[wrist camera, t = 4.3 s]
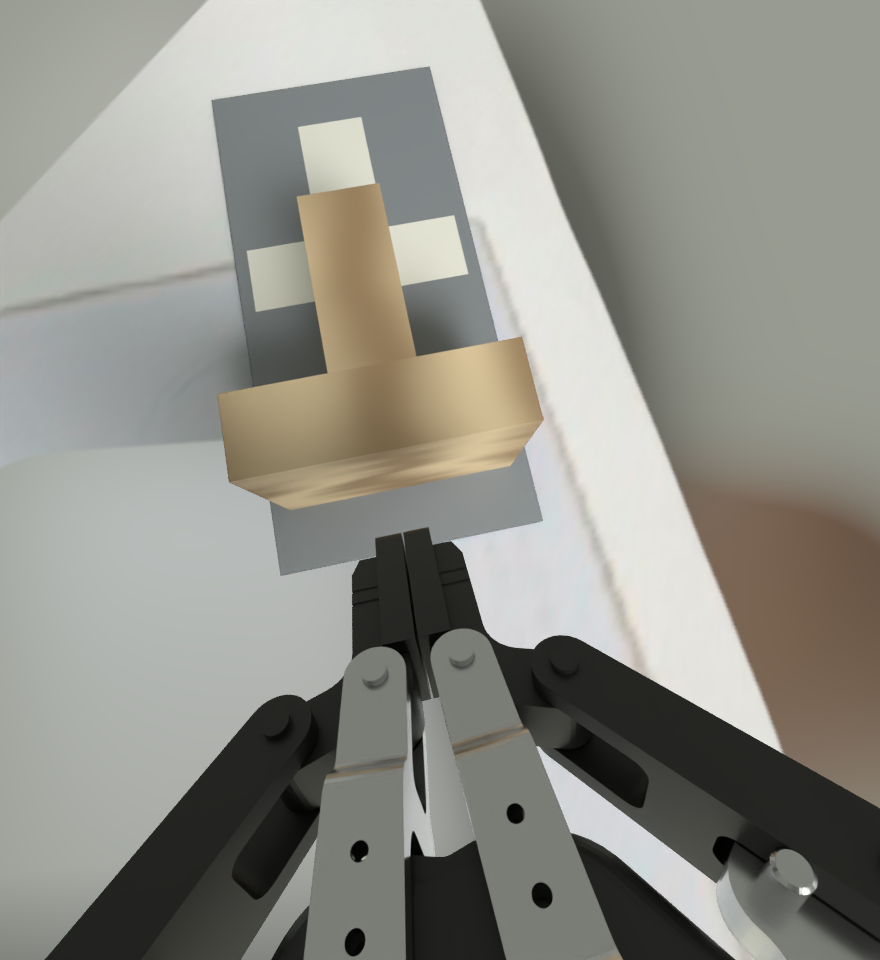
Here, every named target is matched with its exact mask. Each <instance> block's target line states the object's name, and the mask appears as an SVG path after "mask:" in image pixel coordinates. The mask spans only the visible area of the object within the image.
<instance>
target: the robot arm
mask: <svg viewBox="0 0 880 960" xmlns="http://www.w3.org/2000/svg"><path fill="white" fill-rule="evenodd" d="M403 535H404V541H403V537H402V534H401V533H397V534H392V535H388V536H383V537H378V538H375V547H376V557H375V558H370V559H365V560H360V561H359V563H358V565H357V567H356V569H355V571H354V573H353V575H352V592H353V594H352V605H353V607H352V630H353V631H352V640H353V642H352V644H353V646H352V648H353V654H352V661H351V662H350V663H349V665H348V666H347V668H346V671H345V674H344V676H343V678H342V679H341V680H340V681H339V682H338V683H337V684H335V685H334V686H333V687H332V688H330V689H328V690H327V691H325V692H323V693H322V694H320V695H318V696H316V697H314V698H312V699H310V700H309V701H307V702H306V701H305V700H303V699H302V698H301V697H298V696H295V695H283V696H279V697H276V698H274V699H271V700H269V701H268V702H266V703H265V704H263V705H262V706H261V707H260V708H258V709H257V711H256V712H255V713H254V714H253V715H252V716H251V717H250V718H249V720H248V721H247V722H246V723H245V724H244V726H243V727H242V728H241V729H240V730H239V731H238V733H237V734H236V735H235V736H234V737H233V739H232V740H231V741H230V742H229V743H228V744H227V746H226V747H225V748H224V749H223V750H222V752H221V753H220V754H219V755H218V756H217V758H216V759H215V760H214V761H213V762H212V763H211V764H210V766H209V767H208V768H207V769H206V771H205V772H204V773H203V774H202V775H201V776H200V777H199V779H198V780H197V781H196V782H195V783H194V785H193V786H192V787H191V788H190V789H189V790H188V792H187V793H186V794H185V795H184V796H183V798H182V799H181V800H180V801H179V802H178V803H177V805H176V806H175V807H174V808H173V809H172V811H171V812H170V813H169V814H168V815H167V816H166V818H165V819H164V820H163V821H162V822H161V823H160V825H159V826H158V827H157V828H156V829H155V831H154V832H153V833H152V834H151V835H150V836H149V838H148V839H147V840H146V841H145V842H144V843H143V845H142V846H141V847H140V848H139V849H138V850H137V852H136V853H135V854H134V855H133V856H132V858H131V859H130V860H129V861H128V862H127V863H126V865H125V866H124V867H123V868H122V869H121V871H120V872H119V873H118V874H117V875H116V876H115V878H114V879H113V880H112V881H111V882H110V883H109V885H108V886H107V887H106V888H105V889H104V891H103V892H102V893H101V894H100V895H99V897H98V898H97V899H96V900H95V901H94V902H93V904H92V905H91V906H90V907H89V908H88V909H87V911H86V912H85V913H84V914H83V915H82V917H81V918H80V919H79V920H78V921H77V922H76V924H75V925H74V926H73V927H72V928H71V929H70V931H69V932H68V933H67V934H66V935H65V937H64V938H63V939H62V940H61V941H60V943H59V944H58V945H57V946H56V947H55V948H54V950H53V951H52V952H51V953H50V954H49V956H48V957H47V958H46V959H45V960H241V958H242V957H243V955H244V953H245V952H246V950H247V949H248V947H249V945H250V944H251V942H252V941H253V939H254V937H255V936H256V934H257V933H258V931H259V929H260V928H261V926H262V924H263V923H264V921H265V920H266V918H267V917H268V915H269V913H270V912H271V910H272V909H273V907H274V905H275V904H276V902H277V901H278V899H279V897H280V896H281V894H282V892H283V891H284V889H285V888H286V886H287V885H288V883H289V881H290V880H291V878H292V876H293V875H294V873H295V872H296V870H297V869H298V867H299V865H300V864H301V862H302V860H303V859H304V857H305V856H306V854H307V853H308V851H309V849H310V848H311V846H312V845H313V843H314V841H315V840H316V838H317V845H316V853H315V861H314V870H313V879H312V888H311V897H310V905H309V906H308V907H307V908H306V909H305V910H304V912H303V913H302V914H301V915H300V916H299V918H298V919H297V920H296V921H295V922H294V924H293V925H292V927H291V928H290V929H289V931H288V932H287V934H286V935H285V937H284V938H283V940H282V942H281V943H280V945H279V947H278V949H277V950H276V952H275V954H274V956H273V958H272V959H271V960H735V959H734V958H733V957H732V956H730V955H729V954H728V953H727V952H726V951H725V950H724V949H722V948H721V947H720V946H719V945H718V944H717V943H716V942H714V941H713V940H712V939H711V938H710V937H709V936H708V935H706V934H705V933H704V932H703V931H702V930H701V929H700V928H698V927H697V926H696V925H695V924H694V923H693V922H692V921H690V920H689V919H688V918H687V917H686V916H685V915H684V914H682V913H681V912H680V911H679V910H678V909H677V908H676V907H674V906H673V905H672V904H671V903H670V902H669V901H668V900H666V899H665V898H664V897H663V896H662V895H661V894H660V893H658V892H657V891H656V890H655V889H654V888H653V887H652V886H651V885H649V884H648V883H647V882H646V881H645V880H644V879H643V878H641V877H640V876H639V875H638V874H637V873H636V872H635V871H633V870H632V869H631V868H630V867H629V866H628V865H627V864H625V863H624V862H623V861H622V860H621V859H619V858H618V857H617V856H616V855H614V854H613V853H611V852H610V851H609V850H607V849H606V848H604V847H603V846H601V845H599V844H597V843H595V842H593V841H591V840H589V839H587V838H584V837H582V836H579V835H576V834H572V833H570V830H569V828H568V825H567V823H566V820H565V818H564V815H563V813H562V810H561V808H560V805H559V803H558V800H557V798H556V795H555V793H554V790H553V788H552V785H551V783H550V780H549V778H548V775H547V773H546V770H545V768H544V765H543V763H542V760H541V758H540V755H539V753H538V750H537V747H536V746H540V748H541V749H542V750H543V751H544V752H545V753H546V754H547V755H548V756H549V757H551V758H552V759H553V760H555V761H556V762H557V763H559V764H560V765H561V766H563V767H564V768H565V769H567V770H568V771H569V772H571V773H572V774H573V775H574V776H576V777H577V778H578V779H580V780H581V781H582V782H584V783H585V784H586V785H588V786H589V787H590V788H592V789H593V790H594V791H596V792H597V793H598V794H599V795H601V796H602V797H603V798H605V799H606V800H607V801H609V802H610V803H611V804H613V805H614V806H615V807H617V808H618V809H619V810H621V811H622V812H623V813H625V814H626V815H627V816H628V817H630V818H631V819H632V820H634V821H635V822H636V823H638V824H639V825H640V826H642V827H643V828H644V829H646V830H647V831H648V832H650V833H651V834H652V835H653V836H655V837H656V838H657V839H659V840H660V841H661V842H663V843H664V844H665V845H667V846H668V847H669V848H671V849H672V850H673V851H675V852H676V853H677V854H679V855H680V856H681V857H682V858H684V859H685V860H686V861H688V862H689V863H690V864H692V865H693V866H694V867H696V868H697V869H698V870H700V871H701V872H702V873H704V874H705V875H706V876H708V877H709V878H710V879H711V880H713V881H714V882H715V883H717V889H716V893H717V901H718V906H719V909H720V912H721V915H722V917H723V919H724V921H725V923H726V925H727V927H728V929H729V930H730V932H731V933H732V935H733V936H734V937H735V938H736V940H737V941H738V942H739V943H740V944H741V945H742V946H743V947H744V948H745V949H746V950H747V951H748V952H749V953H750V954H751V955H752V956H753V957H754V958H755V959H756V960H880V808H878V807H876V806H875V805H873V804H871V803H869V802H868V801H866V800H864V799H862V798H860V797H858V796H856V795H855V794H853V793H851V792H850V791H848V790H846V789H844V788H843V787H841V786H839V785H837V784H835V783H834V782H832V781H830V780H828V779H826V778H825V777H823V776H821V775H819V774H818V773H816V772H814V771H812V770H810V769H809V768H807V767H805V766H803V765H802V764H800V763H798V762H796V761H795V760H793V759H791V758H789V757H787V756H786V755H784V754H782V753H780V752H779V751H777V750H775V749H773V748H771V747H770V746H768V745H766V744H764V743H763V742H761V741H759V740H757V739H755V738H754V737H752V736H750V735H748V734H747V733H745V732H743V731H741V730H739V729H738V728H736V727H734V726H732V725H731V724H729V723H727V722H725V721H723V720H722V719H720V718H718V717H716V716H715V715H713V714H711V713H709V712H707V711H706V710H704V709H702V708H700V707H699V706H697V705H695V704H693V703H691V702H690V701H688V700H686V699H684V698H682V697H681V696H679V695H677V694H675V693H674V692H672V691H670V690H668V689H666V688H665V687H663V686H661V685H659V684H658V683H656V682H654V681H652V680H650V679H649V678H647V677H645V676H643V675H642V674H640V673H638V672H636V671H634V670H633V669H631V668H629V667H627V666H626V665H624V664H622V663H620V662H618V661H617V660H615V659H613V658H611V657H610V656H608V655H606V654H604V653H602V652H601V651H599V650H597V649H595V648H594V647H592V646H590V645H588V644H586V643H585V642H583V641H581V640H579V639H577V638H574V637H571V636H562V635H559V636H552V637H549V638H547V639H544V640H543V641H541V642H540V643H539V644H538V645H537V646H536V647H535V649H523V648H513V647H508V646H505V645H503V644H500V643H498V642H497V641H495V640H494V639H493V638H491V637H490V636H489V634H488V633H487V632H486V630H485V629H484V626H483V623H482V620H481V616H480V613H479V609H478V606H477V602H476V599H475V595H474V592H473V588H472V585H471V582H470V578H469V574H468V571H467V568H466V564H465V560H464V557H463V553H462V552H461V551H460V550H459V549H458V548H457V547H456V546H455V545H454V544H453V543H452V542H451V541H450V542H445V543H441V544H435V545H432V540H431V536H430V531H429V527H425V528H421V529H416V530H411V531H406V532H403ZM404 542H405V545H404ZM427 674H428V675H427ZM428 678H429V681H430V685H431V689H432V693H433V697H434V698H437V697H440V701H441V705H442V709H443V714H444V717H445V722H446V726H447V730H448V734H449V738H450V741H451V746H452V750H453V754H454V757H455V762H456V766H457V770H458V774H459V778H460V781H461V786H462V789H463V793H464V798H465V801H466V805H467V809H468V814H469V817H470V821H471V825H472V830H473V834H474V838H475V841H473V842H471V843H469V844H468V845H466V846H464V847H463V848H461V849H459V850H458V851H456V852H454V853H453V854H451V855H449V856H446V857H435V849H434V841H433V835H432V829H431V821H430V807H429V789H428V773H427V753H426V735H425V729H424V726H425V722H424V713H423V705H422V701H424V700H428V699H431V695H430V689H429V682H428Z"/></svg>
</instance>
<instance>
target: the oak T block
mask: <svg viewBox="0 0 880 960" xmlns="http://www.w3.org/2000/svg"><path fill="white" fill-rule="evenodd" d="M297 202H298V207H299V213H300V219H301V225H302V230H303V236H304V242H305V247H306V253H307V259H308V264H309V270H310V276H311V281H312V287H313V293H314V298H315V304H316V310H317V315H318V321H319V327H320V332H321V338H322V344H323V349H324V355H325V361H326V366H327V372H328V373H327V374H321V375H316V376H311V377H305V378H300V379H295V380H289V381H284V382H279V383H273V384H268V385H263V386H257V387H252V388H247V389H241V390H236V391H231V392H225V393H220V394H218V402H219V409H220V417H221V425H222V433H223V440H224V448H225V456H226V463H227V471H228V479H229V482H230V483H232V484H234V485H236V486H239V487H241V488H243V489H245V490H248V491H250V492H252V493H254V494H256V495H258V496H260V497H263V498H265V499H267V500H269V501H271V502H273V503H276V504H278V505H280V506H282V507H284V508H287V509H289V510H295V509H300V508H305V507H310V506H315V505H320V504H325V503H329V502H334V501H339V500H344V499H349V498H354V497H359V496H364V495H369V494H374V493H379V492H384V491H389V490H394V489H399V488H404V487H409V486H413V485H418V484H423V483H428V482H433V481H438V480H443V479H448V478H453V477H458V476H463V475H468V474H473V473H478V472H483V471H488V470H493V469H498V468H502V467H507V466H511V464H512V463H513V462H514V460H515V459H516V458H517V456H518V455H519V453H520V452H521V451H522V449H523V448H524V446H525V445H526V444H527V442H528V441H529V439H530V438H531V437H532V435H533V434H534V432H535V431H536V430H537V428H538V427H539V425H540V424H541V423H542V421H543V416H542V412H541V408H540V404H539V401H538V397H537V393H536V389H535V385H534V381H533V377H532V374H531V370H530V366H529V362H528V358H527V354H526V351H525V347H524V343H523V339H522V337H518V338H513V339H508V340H502V341H497V342H492V343H486V344H481V345H476V346H470V347H465V348H460V349H454V350H449V351H444V352H438V353H433V354H428V355H422V356H417V357H416V352H415V347H414V343H413V338H412V333H411V329H410V324H409V319H408V315H407V310H406V305H405V301H404V296H403V291H402V287H401V282H400V277H399V273H398V268H397V263H396V259H395V254H394V249H393V245H392V240H391V235H390V231H389V226H388V221H387V216H386V212H385V207H384V202H383V198H382V193H381V188H380V184H379V183H375V184H369V185H363V186H357V187H351V188H345V189H339V190H333V191H327V192H321V193H315V194H309V195H303V196H297Z"/></svg>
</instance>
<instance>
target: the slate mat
mask: <svg viewBox="0 0 880 960" xmlns="http://www.w3.org/2000/svg"><path fill="white" fill-rule="evenodd" d="M212 105H213V112H214V119H215V126H216V133H217V140H218V147H219V154H220V161H221V167H222V174H223V181H224V188H225V195H226V202H227V209H228V216H229V223H230V230H231V236H232V243H233V250H234V257H235V264H236V271H237V278H238V285H239V292H240V298H241V305H242V312H243V319H244V326H245V333H246V340H247V347H248V354H249V361H250V367H251V374H252V381H253V387H257V386H263V385H268V384H273V383H279V382H284V381H289V380H295V379H300V378H305V377H311V376H316V375H321V374H327V373H328V372H327V366H326V361H325V355H324V349H323V344H322V338H321V332H320V327H319V321H318V315H317V310H316V304H315V298H314V293H313V287H312V281H311V276H310V270H309V264H308V259H307V253H306V247H305V242H304V236H303V230H302V225H301V219H300V213H299V207H298V202H297V196H303V195H309V194H315V193H321V192H327V191H333V190H339V189H345V188H351V187H357V186H363V185H369V184H375V183H379V184H380V188H381V193H382V198H383V202H384V207H385V212H386V216H387V221H388V226H389V231H390V235H391V240H392V245H393V249H394V254H395V259H396V263H397V268H398V273H399V277H400V282H401V287H402V291H403V296H404V301H405V305H406V310H407V315H408V319H409V324H410V329H411V333H412V338H413V343H414V347H415V352H416V357H417V356H422V355H428V354H433V353H438V352H444V351H449V350H454V349H460V348H465V347H470V346H476V345H481V344H486V343H492V342H497V341H498V339H497V335H496V331H495V327H494V323H493V319H492V315H491V311H490V307H489V303H488V299H487V295H486V291H485V287H484V283H483V279H482V275H481V271H480V266H479V262H478V258H477V254H476V250H475V246H474V242H473V238H472V234H471V230H470V226H469V222H468V218H467V214H466V210H465V206H464V202H463V198H462V194H461V190H460V186H459V182H458V178H457V174H456V170H455V166H454V162H453V158H452V154H451V150H450V146H449V142H448V138H447V134H446V130H445V126H444V122H443V118H442V114H441V110H440V106H439V102H438V98H437V94H436V90H435V86H434V82H433V78H432V74H431V70H430V67H423V68H417V69H411V70H404V71H398V72H391V73H385V74H378V75H372V76H365V77H359V78H352V79H346V80H339V81H333V82H327V83H320V84H314V85H307V86H301V87H294V88H288V89H281V90H275V91H268V92H262V93H256V94H249V95H243V96H236V97H230V98H223V99H217V100H212ZM270 505H271V512H272V519H273V525H274V532H275V539H276V547H277V553H278V560H279V567H280V574H281V575H288V574H292V573H297V572H302V571H306V570H312V569H316V568H321V567H326V566H330V565H335V564H340V563H345V562H350V561H354V560H359V559H364V558H368V557H374V556H376V547H375V538H378V537H383V536H388V535H392V534H397V533H401V534H402V537H403V541H404V535H403V532H406V531H411V530H416V529H421V528H425V527H429V531H430V536H431V540H432V544H436V543H440V542H445V541H450V540H455V539H460V538H464V537H469V536H474V535H479V534H483V533H488V532H493V531H498V530H502V529H507V528H512V527H517V526H522V525H526V524H531V523H536V522H541V521H543V519H542V515H541V511H540V507H539V503H538V499H537V495H536V491H535V487H534V483H533V479H532V475H531V471H530V467H529V463H528V459H527V455H526V451H525V447H524V448H523V449H522V451H521V452H520V453H519V455H518V456H517V458H516V459H515V460H514V462H513V463H512V464H511V466H507V467H502V468H498V469H493V470H488V471H483V472H478V473H473V474H468V475H463V476H458V477H453V478H448V479H443V480H438V481H433V482H428V483H423V484H418V485H413V486H409V487H404V488H399V489H394V490H389V491H384V492H379V493H374V494H369V495H364V496H359V497H354V498H349V499H344V500H339V501H334V502H329V503H325V504H320V505H315V506H310V507H305V508H300V509H295V510H289V509H287V508H284V507H282V506H280V505H278V504H276V503H273V502H271V501H270ZM404 545H405V542H404Z"/></svg>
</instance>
